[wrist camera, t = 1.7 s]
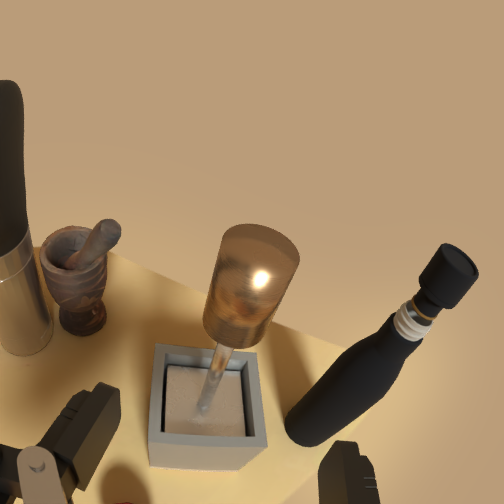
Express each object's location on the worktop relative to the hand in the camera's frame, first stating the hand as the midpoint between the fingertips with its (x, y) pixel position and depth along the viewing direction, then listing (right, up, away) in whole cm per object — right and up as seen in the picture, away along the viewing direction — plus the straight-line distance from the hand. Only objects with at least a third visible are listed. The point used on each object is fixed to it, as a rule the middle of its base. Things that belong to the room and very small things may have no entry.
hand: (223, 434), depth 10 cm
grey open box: (-6, -15, +24) cm, 29 cm away
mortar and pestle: (-22, -3, +32) cm, 39 cm away
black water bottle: (+8, -17, +28) cm, 34 cm away
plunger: (-3, -8, +18) cm, 20 cm away
